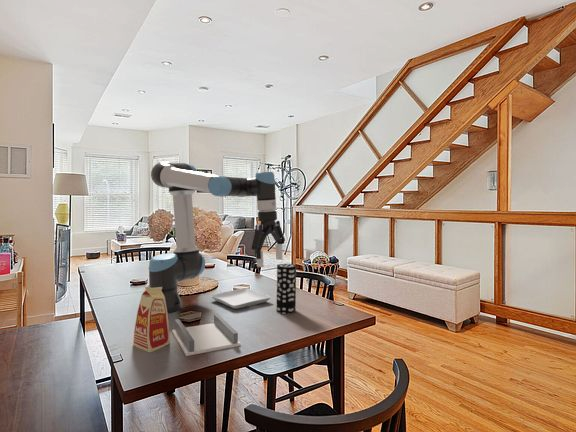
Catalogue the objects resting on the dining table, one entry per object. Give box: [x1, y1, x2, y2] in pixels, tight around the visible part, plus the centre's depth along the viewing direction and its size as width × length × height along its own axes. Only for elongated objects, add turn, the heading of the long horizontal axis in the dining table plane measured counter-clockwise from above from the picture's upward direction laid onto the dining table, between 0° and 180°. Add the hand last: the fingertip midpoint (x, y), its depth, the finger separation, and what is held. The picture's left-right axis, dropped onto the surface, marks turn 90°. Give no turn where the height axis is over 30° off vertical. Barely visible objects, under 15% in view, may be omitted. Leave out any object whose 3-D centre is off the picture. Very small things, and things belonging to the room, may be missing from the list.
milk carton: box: [132, 286, 171, 353], centre depth 123 cm, size 9×9×20 cm
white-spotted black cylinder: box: [276, 263, 297, 315], centre depth 160 cm, size 8×8×20 cm
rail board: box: [171, 313, 242, 357], centre depth 129 cm, size 22×18×4 cm
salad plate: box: [209, 287, 272, 310], centre depth 173 cm, size 21×21×3 cm
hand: (270, 262), depth 149 cm, fingers open, 13 cm apart
